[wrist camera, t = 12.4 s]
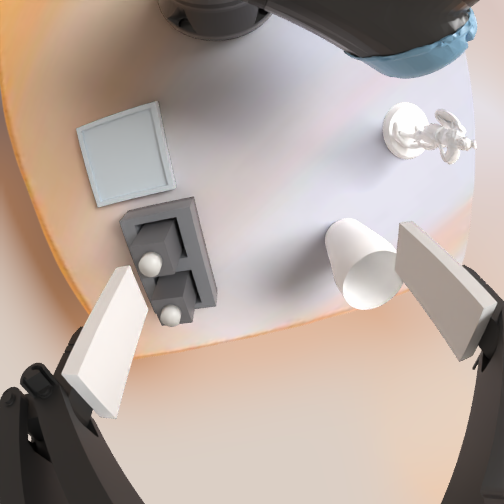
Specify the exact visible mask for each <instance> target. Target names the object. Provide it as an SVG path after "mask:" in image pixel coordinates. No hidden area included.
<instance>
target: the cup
mask: <svg viewBox="0 0 504 504" xmlns="http://www.w3.org/2000/svg"><path fill="white" fill-rule="evenodd" d="M325 246H326V249H327V253H328V257H329V260H330V264H331V268H332V272H333V276H334V279H335V282H336V285H337V287H338V289H339V290H340V291H341V293H342V295H343V296H344V298H345V300H346V301H347V303H348V304H349V305H351V306H352V307H354V308H357V309H363V310H365V309H373V308H376V307H379V306H381V305H383V304H385V303H386V302H388V301H389V300H390V299H392V298H393V297H394V296H395V295H396V293H397V292H398V291H399V289H400V288H401V286H402V284H403V281H402V279H401V278H400V277H399V276H398V274H397V273H396V272H395V270H394V269H395V261H396V253H397V251H396V250H395V249H394V247H393V246H392V245H391V244H390V243H389V242H388V241H387V240H385V239H384V238H382V237H381V236H379V235H378V234H376V233H375V232H373V231H372V230H370V229H369V228H367V227H366V226H364V225H363V224H361V223H360V222H358V221H357V220H355V219H351V218H344V219H341V220H338V221H336V222H335V223H334V224H332V225H331V226H330V228H329V229H328V231H327V233H326V236H325Z"/></svg>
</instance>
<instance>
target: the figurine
mask: <svg viewBox="0 0 504 504" xmlns="http://www.w3.org/2000/svg"><path fill="white" fill-rule="evenodd" d="M435 117H436V119H437V121H438V122H439V123H440V124H441V125H442V126H441V125H439V124H432V123H431V124H430V125H429V123H428V120H427V118H426V116H425V114H424V113H423V112H422V110H421V109H420V108H418V107H417V106H416V105H414V104H411V103H404V102H403V103H398V104H396V105H394V106H393V107H392V108H391V109H390V110H389V111H388V112H387V114H386V116H385V118H384V122H383V137H384V141H385V143H386V145H387V147H388V149H389V150H390V151H391V152H392V153H393V154H394V155H395V156H397V157H399V158H401V159H413V158H415V157H417V156H419V155H420V154H421V153H422V152H423V151H424V150H425V149H426V150H435V149H436V148H437V147H439V149H440V154H441V157H442V159H443V161H444V162H446V163H448V164H453V163H455V162H456V160H458V158H459V155H460V151H459V150H460V149H461V148H462V149H461V150H466V151H468V150H469V149H470V148H471V147H473V148H474V149H476V141H475V140H472V141H470V140H469V139H468V138H466V137H467V136H466V137H464V136H465V133H466V129H465V128H464V127H463V126H462V125H461V124H460V121H459V120H458V119H457V118H456V117H455V116H454V115H453V114H452V113H450V112H448V111H446V110H443V109H438V110H437V111H436V112H435ZM444 147H447V151H446V153H444V150H443V148H444Z"/></svg>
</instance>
